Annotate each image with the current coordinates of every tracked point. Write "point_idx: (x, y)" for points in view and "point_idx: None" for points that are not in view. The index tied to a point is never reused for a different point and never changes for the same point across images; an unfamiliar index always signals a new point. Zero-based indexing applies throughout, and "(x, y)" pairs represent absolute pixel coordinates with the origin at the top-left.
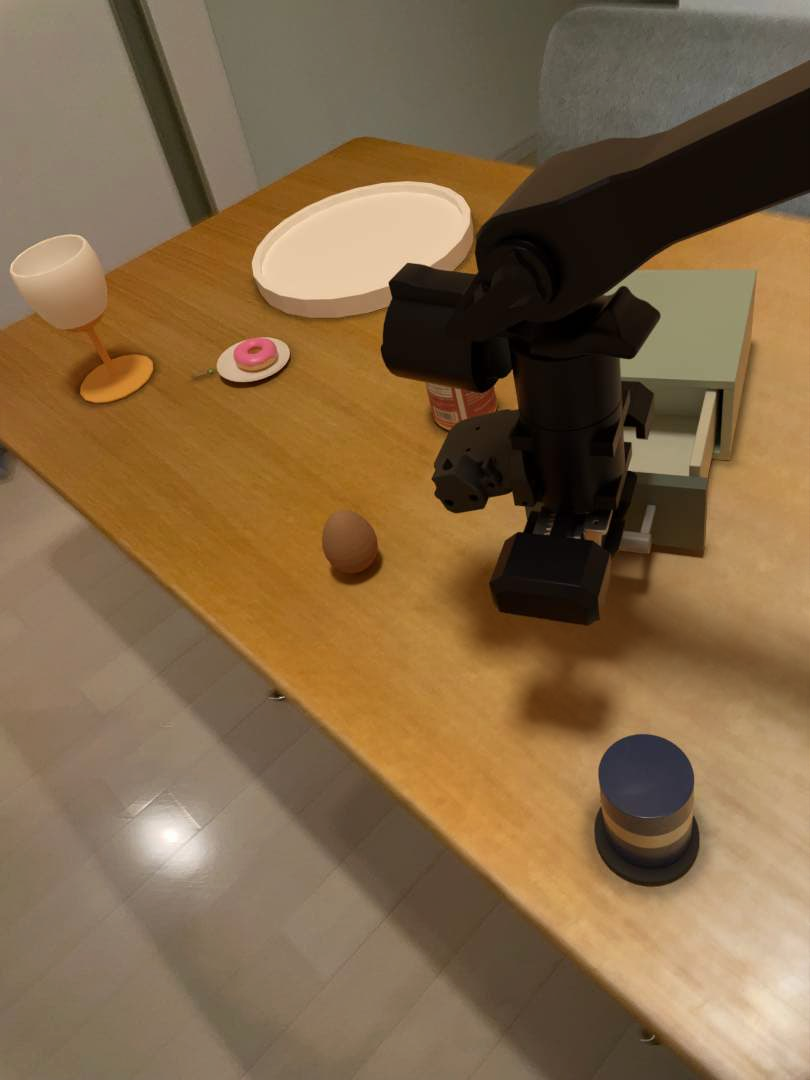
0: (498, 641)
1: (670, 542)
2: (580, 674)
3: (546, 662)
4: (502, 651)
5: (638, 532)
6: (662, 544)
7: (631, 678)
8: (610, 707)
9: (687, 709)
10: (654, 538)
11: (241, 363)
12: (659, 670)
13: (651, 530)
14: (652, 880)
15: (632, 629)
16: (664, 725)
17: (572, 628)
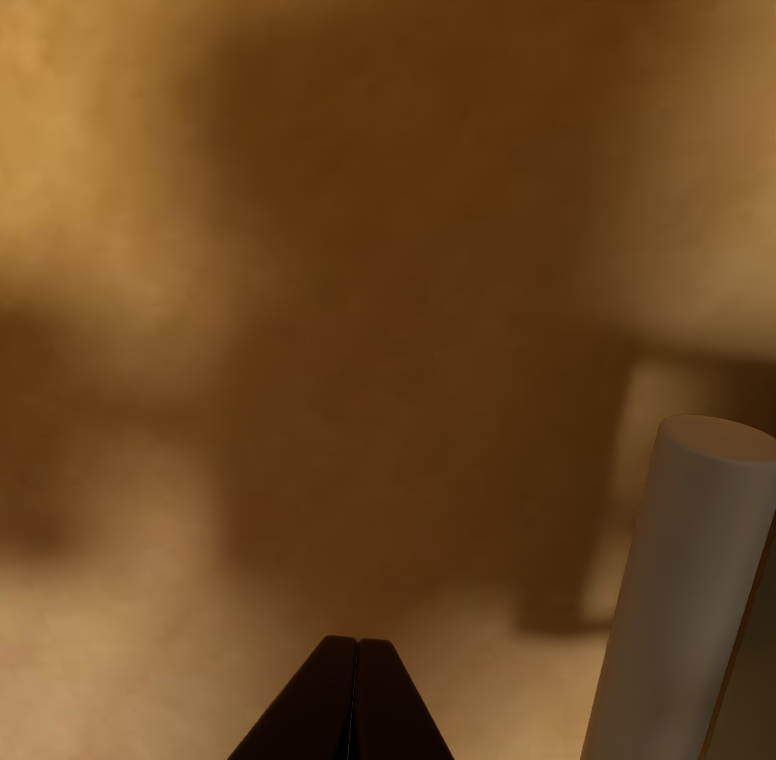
0: (227, 130)
1: (722, 743)
2: (143, 467)
3: (166, 346)
4: (180, 159)
5: (772, 675)
6: (723, 706)
7: (166, 614)
8: (43, 566)
9: (98, 749)
10: (743, 706)
11: None
12: (213, 682)
13: (769, 732)
14: None
15: (359, 604)
16: (29, 701)
17: (338, 417)
